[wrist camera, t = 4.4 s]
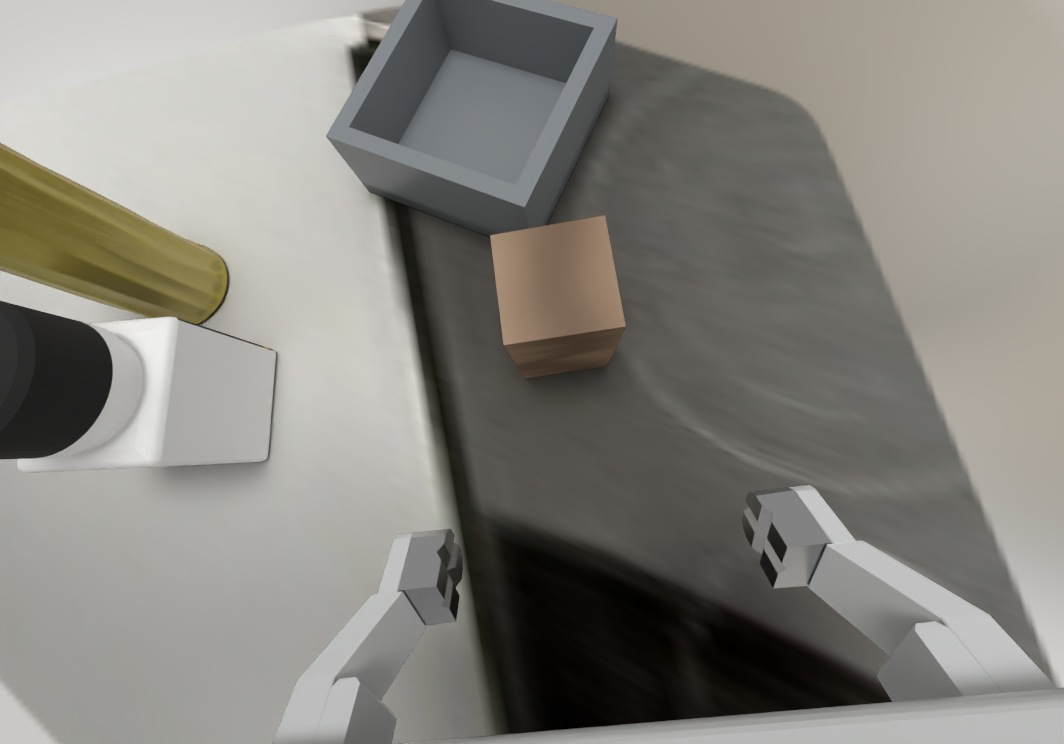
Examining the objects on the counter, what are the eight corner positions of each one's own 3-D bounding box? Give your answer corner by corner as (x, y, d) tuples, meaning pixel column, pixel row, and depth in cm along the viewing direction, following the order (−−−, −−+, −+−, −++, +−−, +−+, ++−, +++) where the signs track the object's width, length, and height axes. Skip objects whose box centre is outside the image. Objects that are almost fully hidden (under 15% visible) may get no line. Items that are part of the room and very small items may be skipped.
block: (525, 378, 24) (503, 345, 16) (514, 301, 25) (490, 235, 17) (607, 366, 24) (625, 326, 16) (593, 288, 25) (605, 215, 17)
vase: (174, 236, 28) (-208, 32, 14) (244, 261, 27) (-92, 67, 13) (132, 314, 27) (-318, 175, 14) (204, 341, 27) (-202, 223, 13)
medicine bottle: (279, 349, 26) (39, 269, 14) (270, 461, 25) (-4, 473, 13) (179, 357, 27) (-131, 285, 15) (165, 466, 25) (-189, 482, 13)
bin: (369, 191, 28) (325, 136, 23) (448, 48, 29) (424, -33, 24) (533, 253, 26) (524, 207, 21) (608, 95, 27) (617, 18, 22)
